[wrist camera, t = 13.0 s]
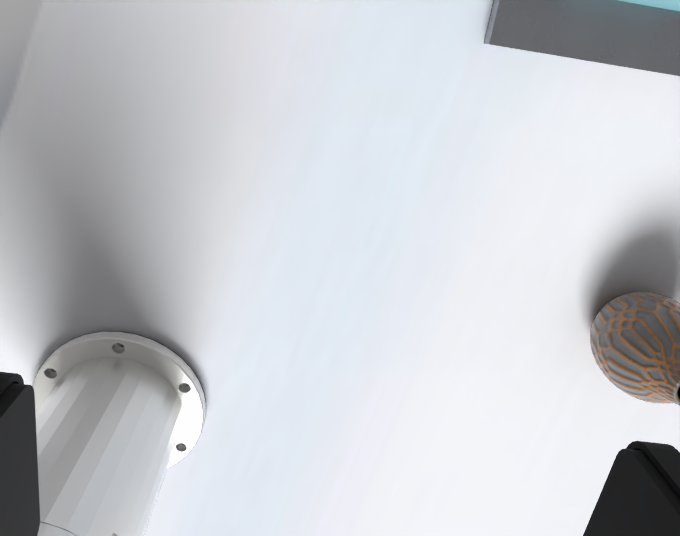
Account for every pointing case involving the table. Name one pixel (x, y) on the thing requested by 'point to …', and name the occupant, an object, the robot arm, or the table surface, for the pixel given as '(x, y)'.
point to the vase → (640, 345)
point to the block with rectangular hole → (658, 3)
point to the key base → (590, 31)
